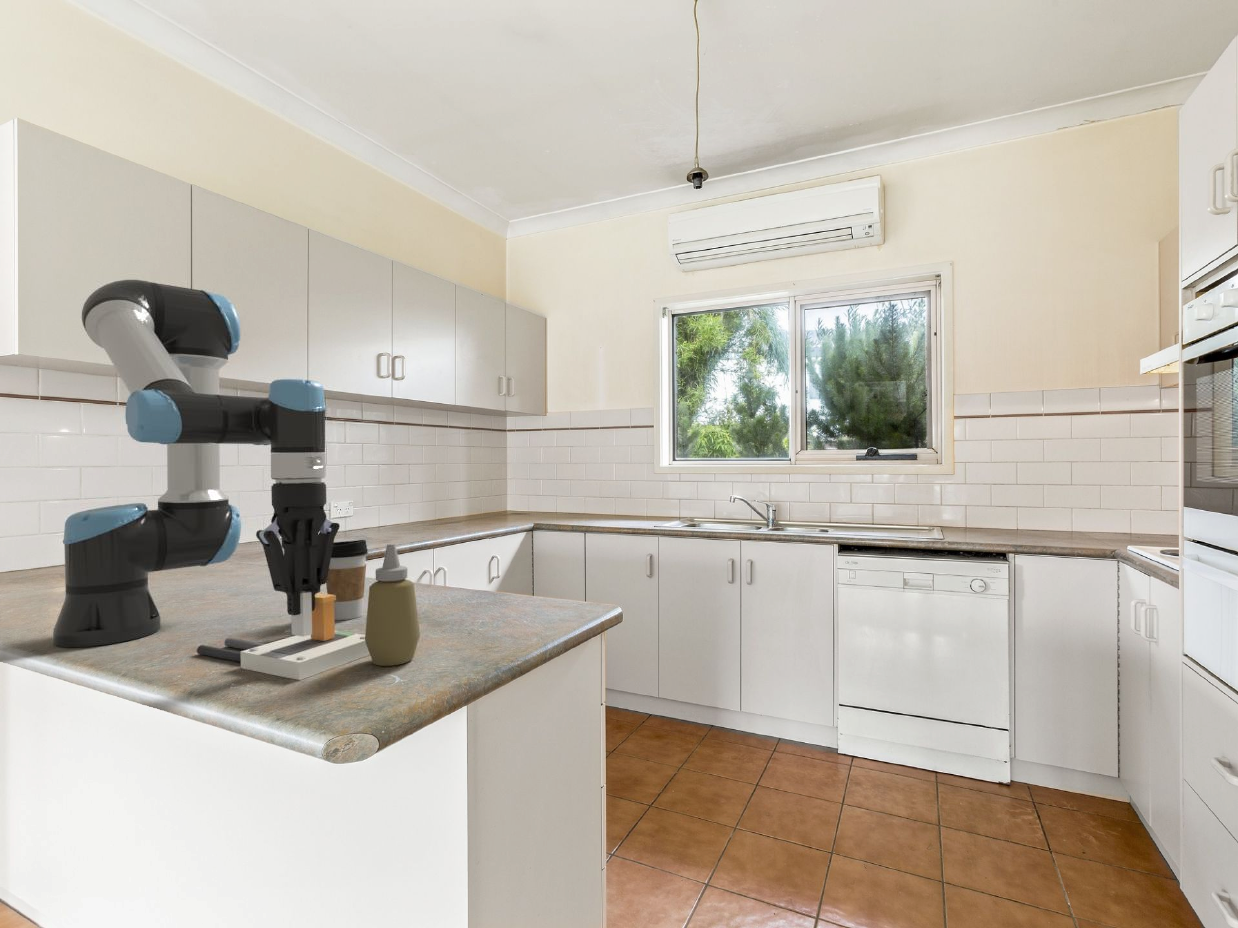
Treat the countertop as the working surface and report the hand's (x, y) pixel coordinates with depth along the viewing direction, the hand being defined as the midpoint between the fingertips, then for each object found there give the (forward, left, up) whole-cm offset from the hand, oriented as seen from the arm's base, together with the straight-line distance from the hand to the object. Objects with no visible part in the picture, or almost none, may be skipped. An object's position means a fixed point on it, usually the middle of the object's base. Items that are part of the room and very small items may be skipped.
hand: (301, 634), depth 98 cm
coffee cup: (-17, +24, -5) cm, 30 cm away
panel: (0, +2, -4) cm, 5 cm away
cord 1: (-13, -3, -4) cm, 15 cm away
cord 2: (-13, +1, -4) cm, 14 cm away
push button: (-13, +11, -5) cm, 18 cm away
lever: (0, +4, -2) cm, 4 cm away
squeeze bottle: (+12, +6, -5) cm, 15 cm away
